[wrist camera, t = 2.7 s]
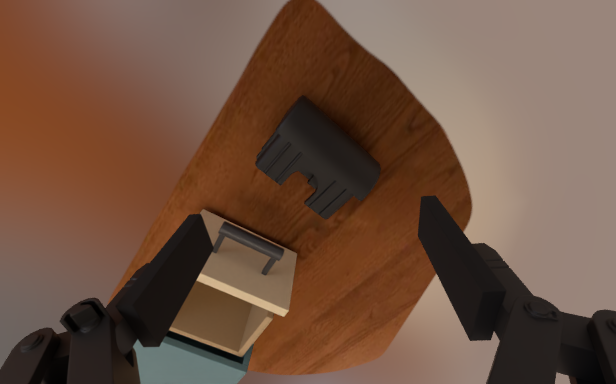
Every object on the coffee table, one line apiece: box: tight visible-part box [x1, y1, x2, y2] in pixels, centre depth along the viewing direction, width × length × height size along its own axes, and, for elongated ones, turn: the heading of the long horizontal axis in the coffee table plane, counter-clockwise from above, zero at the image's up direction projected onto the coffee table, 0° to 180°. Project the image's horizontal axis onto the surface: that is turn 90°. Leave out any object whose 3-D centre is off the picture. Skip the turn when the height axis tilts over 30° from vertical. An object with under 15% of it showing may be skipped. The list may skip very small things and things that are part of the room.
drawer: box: [169, 209, 297, 357], centre depth 32 cm, size 16×13×9 cm
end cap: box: [255, 95, 381, 219], centre depth 26 cm, size 10×7×7 cm
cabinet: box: [133, 330, 254, 384], centre depth 39 cm, size 13×15×11 cm
